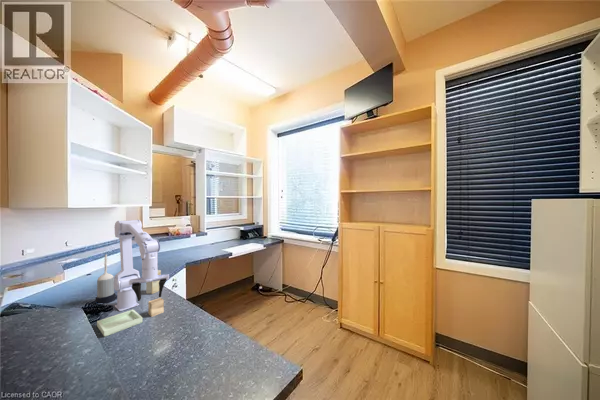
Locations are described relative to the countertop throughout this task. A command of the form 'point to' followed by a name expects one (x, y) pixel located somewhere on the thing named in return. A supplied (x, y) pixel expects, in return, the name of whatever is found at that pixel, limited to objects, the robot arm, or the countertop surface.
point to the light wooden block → (153, 286)
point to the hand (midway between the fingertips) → (149, 298)
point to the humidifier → (105, 286)
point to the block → (155, 307)
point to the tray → (119, 322)
